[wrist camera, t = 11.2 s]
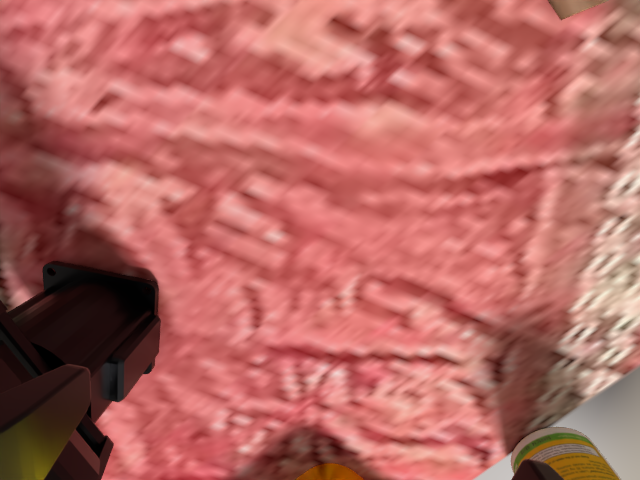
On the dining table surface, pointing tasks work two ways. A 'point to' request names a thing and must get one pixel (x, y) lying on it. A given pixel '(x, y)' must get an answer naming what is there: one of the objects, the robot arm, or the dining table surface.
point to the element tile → (329, 473)
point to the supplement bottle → (564, 454)
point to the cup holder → (572, 6)
